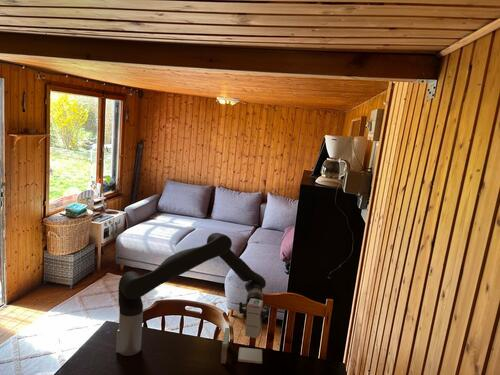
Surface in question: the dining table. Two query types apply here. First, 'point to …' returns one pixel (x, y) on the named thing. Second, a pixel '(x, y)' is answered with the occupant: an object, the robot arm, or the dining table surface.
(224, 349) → the birch posts
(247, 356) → the grey mat
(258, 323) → the syrup box
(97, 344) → the dining table surface
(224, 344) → the wooden bar
